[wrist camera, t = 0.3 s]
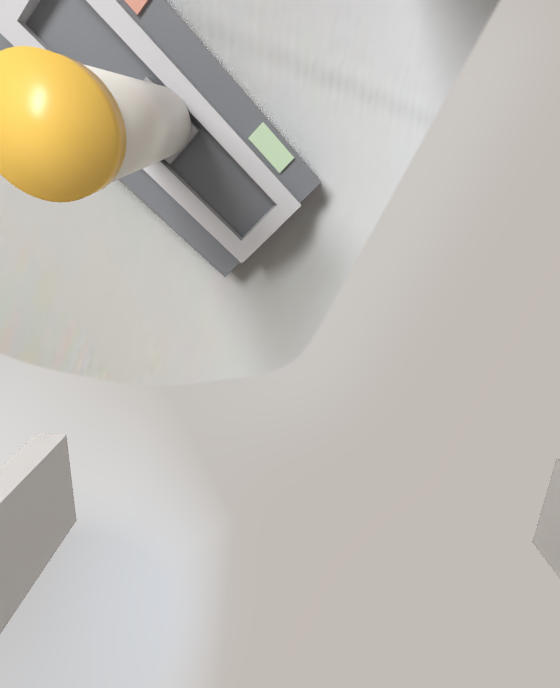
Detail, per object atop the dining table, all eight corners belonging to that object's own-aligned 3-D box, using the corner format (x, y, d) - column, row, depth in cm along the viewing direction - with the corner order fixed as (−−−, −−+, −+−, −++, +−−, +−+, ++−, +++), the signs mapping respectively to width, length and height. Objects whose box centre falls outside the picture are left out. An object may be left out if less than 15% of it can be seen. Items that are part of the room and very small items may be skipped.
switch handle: (115, 121, 27) (-57, 128, 13) (156, 67, 25) (16, 6, 11) (167, 171, 28) (66, 228, 14) (208, 123, 27) (142, 132, 13)
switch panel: (-2, 55, 27) (-31, 49, 24) (87, -91, 24) (64, -117, 21) (227, 268, 34) (223, 281, 32) (318, 178, 31) (323, 184, 28)
